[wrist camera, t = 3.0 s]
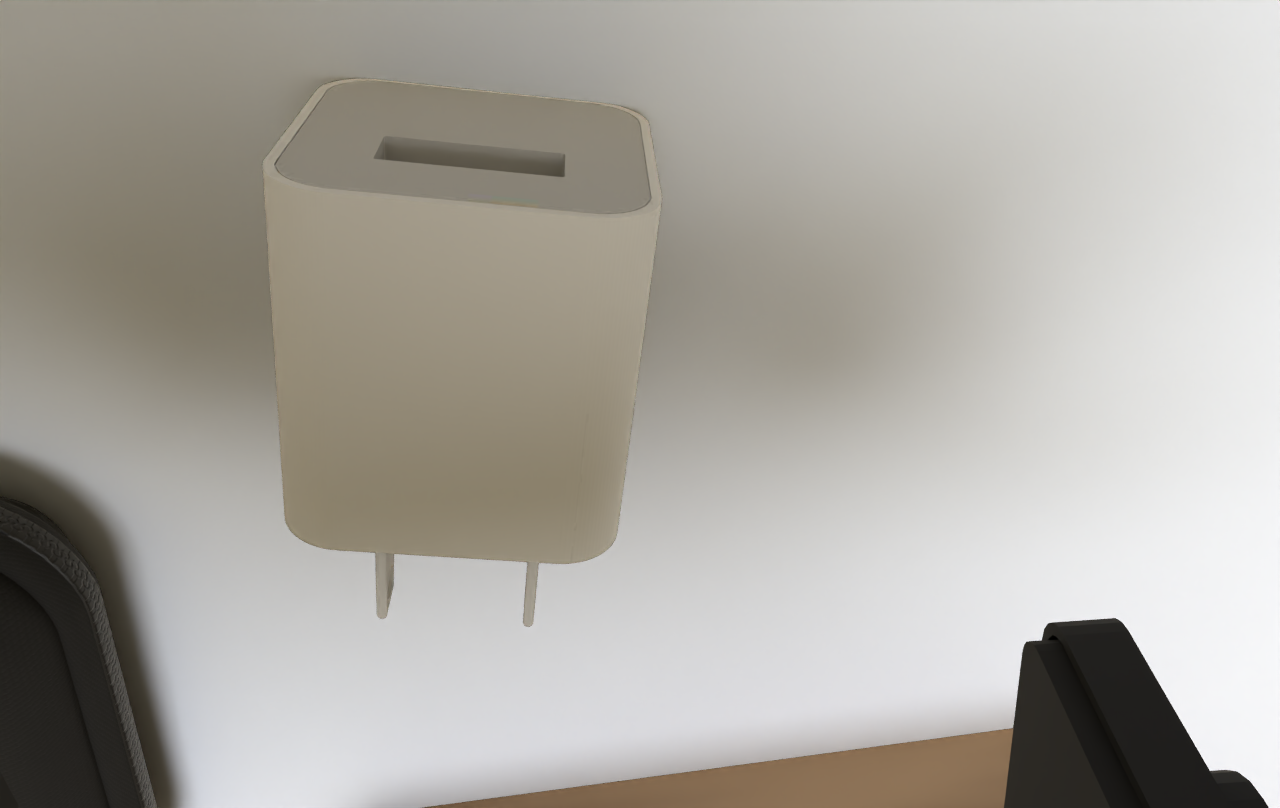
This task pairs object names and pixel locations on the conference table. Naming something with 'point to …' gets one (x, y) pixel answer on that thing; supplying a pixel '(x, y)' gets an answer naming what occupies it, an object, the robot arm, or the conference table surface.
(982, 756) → the walnut block
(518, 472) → the usb wall charger
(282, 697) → the conference table surface
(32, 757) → the carrying case or bag
